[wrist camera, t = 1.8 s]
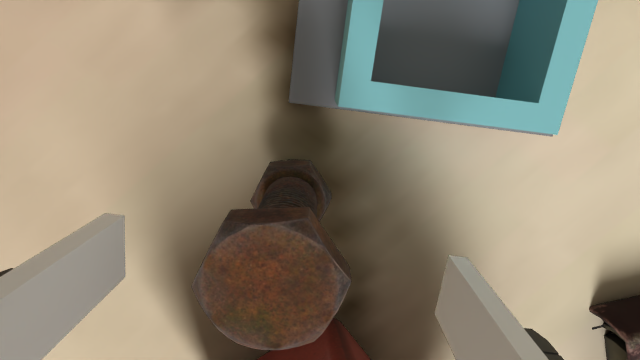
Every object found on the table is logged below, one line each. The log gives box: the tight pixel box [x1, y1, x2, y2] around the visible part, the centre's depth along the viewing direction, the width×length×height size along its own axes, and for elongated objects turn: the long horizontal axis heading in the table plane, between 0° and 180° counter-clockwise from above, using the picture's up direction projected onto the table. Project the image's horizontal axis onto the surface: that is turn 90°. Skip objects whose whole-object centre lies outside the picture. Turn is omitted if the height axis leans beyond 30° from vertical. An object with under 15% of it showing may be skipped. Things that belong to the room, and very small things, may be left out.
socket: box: [289, 0, 598, 136], centre depth 21 cm, size 18×13×6 cm
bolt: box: [191, 159, 352, 350], centre depth 20 cm, size 6×5×15 cm
